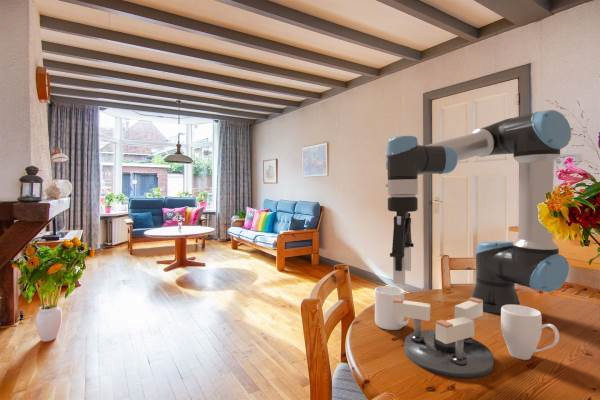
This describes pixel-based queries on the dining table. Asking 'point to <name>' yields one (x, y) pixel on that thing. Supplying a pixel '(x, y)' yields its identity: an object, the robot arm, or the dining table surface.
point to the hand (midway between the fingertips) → (402, 276)
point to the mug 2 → (523, 330)
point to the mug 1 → (388, 308)
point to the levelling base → (449, 356)
